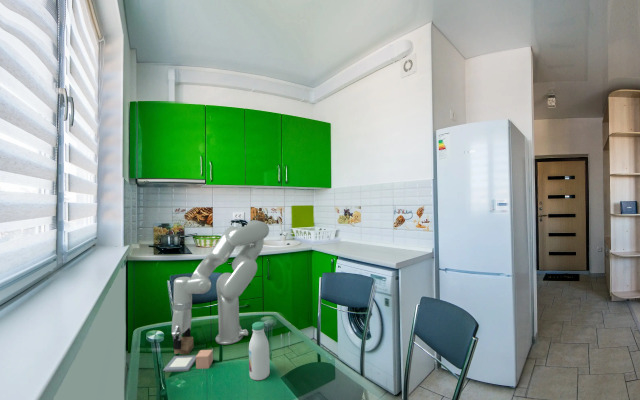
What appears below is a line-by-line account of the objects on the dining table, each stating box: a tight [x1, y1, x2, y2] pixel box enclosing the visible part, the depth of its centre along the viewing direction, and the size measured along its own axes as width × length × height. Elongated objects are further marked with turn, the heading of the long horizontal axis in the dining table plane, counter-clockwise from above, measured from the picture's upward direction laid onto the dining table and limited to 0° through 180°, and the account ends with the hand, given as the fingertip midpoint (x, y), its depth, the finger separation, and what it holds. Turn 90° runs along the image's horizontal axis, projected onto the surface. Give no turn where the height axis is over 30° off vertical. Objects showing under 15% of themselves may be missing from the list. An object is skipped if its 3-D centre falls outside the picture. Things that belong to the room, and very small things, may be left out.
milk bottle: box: [248, 321, 271, 381], centre depth 117 cm, size 8×8×20 cm
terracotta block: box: [195, 349, 214, 370], centre depth 125 cm, size 5×5×5 cm
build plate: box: [162, 354, 197, 372], centre depth 126 cm, size 10×10×1 cm
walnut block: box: [173, 336, 195, 355], centre depth 136 cm, size 6×6×5 cm
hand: (182, 343), depth 136 cm, fingers open, 9 cm apart
